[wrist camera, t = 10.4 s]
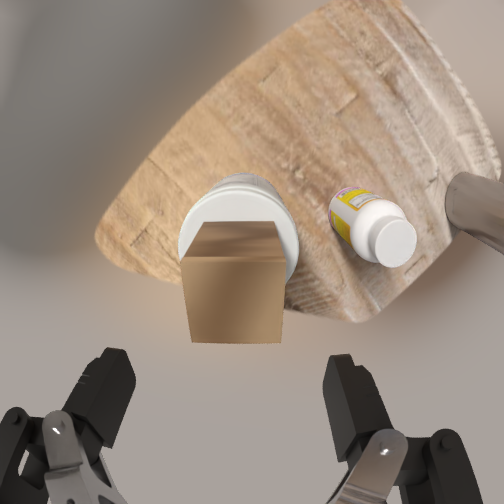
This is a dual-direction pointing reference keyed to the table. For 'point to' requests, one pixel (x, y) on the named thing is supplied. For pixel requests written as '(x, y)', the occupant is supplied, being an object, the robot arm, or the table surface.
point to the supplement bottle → (372, 226)
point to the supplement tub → (243, 212)
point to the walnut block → (235, 283)
